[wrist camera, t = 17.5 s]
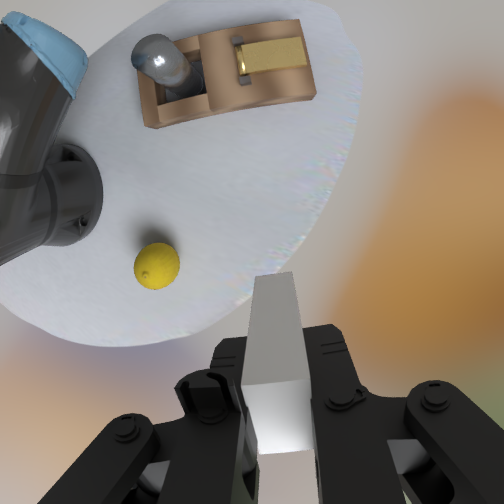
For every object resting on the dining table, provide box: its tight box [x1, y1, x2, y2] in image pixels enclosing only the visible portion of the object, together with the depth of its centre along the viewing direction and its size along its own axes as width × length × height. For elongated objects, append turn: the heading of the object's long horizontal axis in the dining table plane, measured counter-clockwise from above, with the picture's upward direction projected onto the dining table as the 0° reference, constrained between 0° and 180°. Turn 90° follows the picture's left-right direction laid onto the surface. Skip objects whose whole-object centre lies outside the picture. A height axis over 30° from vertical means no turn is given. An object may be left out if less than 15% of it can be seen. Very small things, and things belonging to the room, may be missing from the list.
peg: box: [131, 34, 203, 99], centre depth 27 cm, size 4×4×13 cm
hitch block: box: [137, 19, 316, 129], centre depth 31 cm, size 20×10×5 cm, turn 99°
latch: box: [235, 37, 307, 76], centre depth 28 cm, size 7×4×1 cm, turn 99°
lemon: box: [134, 243, 180, 290], centre depth 37 cm, size 6×6×8 cm
